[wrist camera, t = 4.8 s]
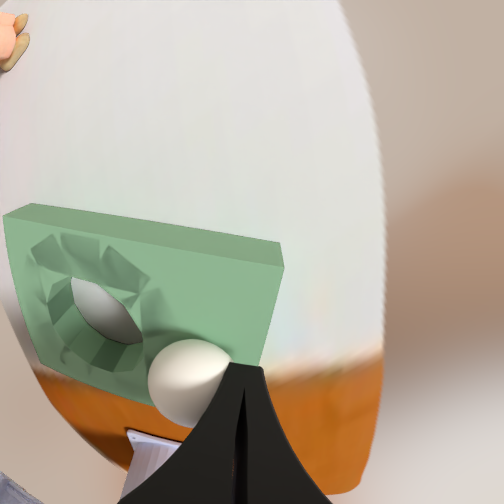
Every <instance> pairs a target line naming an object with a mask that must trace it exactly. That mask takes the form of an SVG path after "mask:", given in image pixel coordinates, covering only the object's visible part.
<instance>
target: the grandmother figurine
mask: <svg viewBox="0 0 504 504" xmlns="http://www.w3.org/2000/svg"><path fill="white" fill-rule="evenodd" d="M27 18H28V15H27V14H22V15H20V16H18V17H16V18H15V15H14V14H8V13H3V12H0V67H1V68H2V69H3V70H4V71H9V70H10V69H11V68H12V67H13V66H14V65H15V63H16V62H17V60H18V59H19V58H20V56H21V55H22V54H23V52H24V51H25V50H26V48H27V46H28V44H29V40H30V38H29V34H28V33H23V34H21V35H19V36H18V37H17V38H16V36H17V35H18V34H19V33H20V32H21V31H22V29H23V28H24V26H25V25H26V23H27Z"/></svg>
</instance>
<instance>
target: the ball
mask: <svg viewBox="0 0 504 504" xmlns="http://www.w3.org/2000/svg"><path fill="white" fill-rule="evenodd" d="M229 362H233V363H234V361H233V360H232V359H231V357H230V356H229V355H228V354H227V353H226V352H225V351H224V350H222V349H221V348H219V347H218V346H216V345H214V344H212V343H210V342H207V341H203V340H198V339H186V340H181V341H177V342H174V343H172V344H170V345H168V346H167V347H165V348H164V349H163V350H161V351H160V352H159V353H158V355H157V356H156V357H155V359H154V360H153V362H152V364H151V367H150V369H149V374H148V389H149V394H150V397H151V399H152V401H153V403H154V405H155V406H156V408H157V409H158V410H159V411H160V412H161V413H162V414H163V415H164V416H165V417H166V418H167V419H169V420H171V421H172V422H174V423H176V424H179V425H181V426H185V427H189V428H194V427H195V426H196V424H197V423H198V421H199V420H200V418H201V417H202V415H203V414H204V412H205V411H206V409H207V407H208V406H209V404H210V402H211V400H212V398H213V397H214V395H215V393H216V391H217V389H218V387H219V385H220V382H221V380H222V378H223V375H224V372H225V371H226V369H227V367H228V365H229Z"/></svg>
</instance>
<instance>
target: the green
mask: <svg viewBox="0 0 504 504" xmlns="http://www.w3.org/2000/svg"><path fill="white" fill-rule="evenodd" d="M3 224H4V232H5V239H6V246H7V252H8V258H9V263H10V268H11V272H12V277H13V281H14V285H15V289H16V293H17V297H18V300H19V304H20V307H21V311H22V314H23V317H24V320H25V323H26V326H27V329H28V332H29V335H30V337H31V340H32V343H33V345H34V348H35V350H36V353H37V355H38V358H39V360H40V362H41V363H42V364H43V365H45V366H47V367H50V368H52V369H54V370H56V371H58V372H60V373H62V374H64V375H67V376H69V377H71V378H73V379H76V380H78V381H81V382H83V383H85V384H88V385H90V386H93V387H96V388H98V389H101V390H104V391H106V392H109V393H112V394H115V395H118V396H121V397H124V398H127V399H130V400H133V401H137V402H140V403H143V404H147V405H151V406H154V407H156V406H155V405H154V403H153V401H152V399H151V397H150V394H149V389H148V374H149V369H150V367H151V364H152V362H153V360H154V359H155V357H156V356H157V355H158V353H159V352H160V351H161V350H163V349H164V348H165V347H167V346H168V345H170V344H172V343H174V342H177V341H181V340H186V339H198V340H203V341H207V342H210V343H212V344H214V345H216V346H218V347H219V348H221V349H222V350H224V351H225V352H226V353H227V354H228V355H229V356H230V357H231V359H232V360H233V361H234V363H239V364H246V365H253V366H258V365H259V361H260V358H261V354H262V351H263V347H264V344H265V340H266V336H267V333H268V329H269V325H270V322H271V318H272V314H273V310H274V306H275V303H276V299H277V295H278V291H279V287H280V283H281V279H282V275H283V271H284V262H283V257H282V252H281V246H280V243H277V242H272V241H266V240H260V239H255V238H249V237H243V236H237V235H231V234H226V233H220V232H214V231H208V230H202V229H196V228H190V227H184V226H178V225H172V224H166V223H159V222H153V221H147V220H141V219H134V218H128V217H121V216H115V215H108V214H102V213H95V212H89V211H82V210H75V209H68V208H61V207H54V206H47V205H40V204H33V203H31V204H29V205H26V206H24V207H21V208H19V209H17V210H15V211H12V212H10V213H8V214H6V215H3ZM72 277H75V278H78V279H82V280H86V281H89V282H93V283H97V284H98V285H99V286H100V287H101V288H103V289H104V290H105V291H106V292H108V293H109V294H110V295H111V296H113V297H114V298H115V299H116V300H118V301H119V302H120V303H122V304H123V305H124V306H125V308H126V309H127V311H128V313H129V314H130V316H131V317H132V319H133V320H134V322H135V324H136V325H137V327H138V328H139V330H140V331H141V333H142V339H143V342H141V343H136V344H131V345H126V344H123V343H119V342H116V341H113V340H109V339H106V338H105V337H104V336H102V335H101V334H100V333H98V332H97V331H96V330H95V329H93V328H92V327H91V326H90V325H88V324H87V323H86V321H85V320H84V318H83V316H82V315H81V313H80V312H79V310H78V309H77V307H76V305H75V304H74V300H73V294H72V288H71V282H70V281H71V278H72Z"/></svg>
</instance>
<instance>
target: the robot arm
mask: <svg viewBox="0 0 504 504" xmlns="http://www.w3.org/2000/svg"><path fill="white" fill-rule="evenodd" d="M127 435H128V438H129V440H130V442H131V445H132V447H133V450H134V455H133V458H132V461H131V464H130V468H129V471H128V474H127V477H126V481H125V484H124V487H123V491H122V494H121V497H120V501H119V502H118V503H117V504H332V503H331V502H330V500H329V499H328V498H327V497H326V496H325V495H324V494H323V493H322V491H321V490H320V489H319V488H318V486H317V485H316V484H315V482H314V481H313V480H312V478H311V477H310V476H309V474H308V473H307V472H306V470H305V469H304V467H303V466H302V464H301V463H300V461H299V459H298V458H297V456H296V454H295V453H294V451H293V449H292V447H291V445H290V444H289V442H288V440H287V438H286V436H285V433H284V431H283V429H282V427H281V425H280V422H279V420H278V418H277V415H276V412H275V410H274V407H273V404H272V401H271V398H270V395H269V392H268V389H267V385H266V381H265V376H264V371H263V368H262V367H260V366H253V365H246V364H239V363H233V362H229V365H228V367H227V369H226V371H225V372H224V375H223V378H222V380H221V382H220V385H219V387H218V389H217V391H216V393H215V395H214V397H213V398H212V400H211V402H210V404H209V406H208V407H207V409H206V411H205V412H204V414H203V415H202V417H201V418H200V420H199V421H198V423H197V424H196V426H195V427H194V428H193V430H192V431H191V433H190V434H189V435H188V436H187V438H186V439H185V440H184V441H183V443H179V442H174V441H170V440H166V439H162V438H158V437H154V436H151V435H147V434H144V433H140V432H137V431H134V430H128V431H127ZM233 459H234V462H233ZM232 475H233V477H232ZM0 504H44V503H42V502H41V501H39V500H38V499H36V498H35V497H33V496H32V495H30V494H29V493H27V492H26V490H25V489H24V488H22V487H21V486H20V485H18V484H17V483H15V482H14V481H13V480H12V479H10V478H9V477H8V476H6V475H5V474H4V473H2V472H1V471H0Z"/></svg>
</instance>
